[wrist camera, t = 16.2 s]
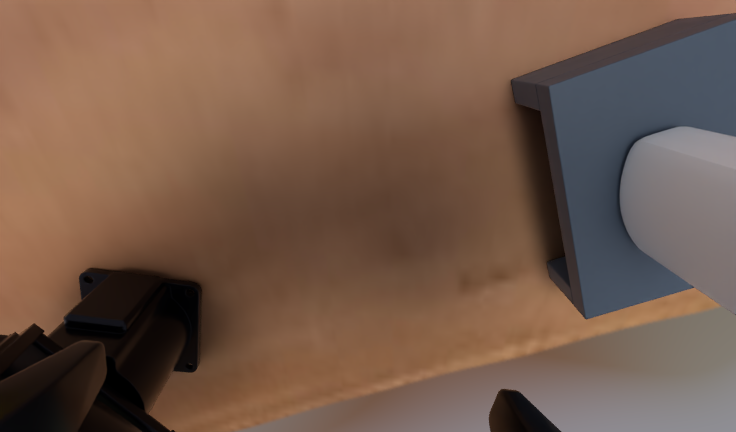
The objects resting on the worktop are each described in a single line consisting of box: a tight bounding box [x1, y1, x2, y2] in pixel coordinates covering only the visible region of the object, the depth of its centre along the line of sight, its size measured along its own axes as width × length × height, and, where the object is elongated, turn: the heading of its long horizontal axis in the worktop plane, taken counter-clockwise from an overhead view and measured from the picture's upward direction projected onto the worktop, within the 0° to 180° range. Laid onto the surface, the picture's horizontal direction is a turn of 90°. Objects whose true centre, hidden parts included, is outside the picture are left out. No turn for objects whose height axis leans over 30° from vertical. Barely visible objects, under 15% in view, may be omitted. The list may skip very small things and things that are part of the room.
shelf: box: [511, 13, 736, 319], centre depth 19 cm, size 8×12×4 cm, turn 20°
